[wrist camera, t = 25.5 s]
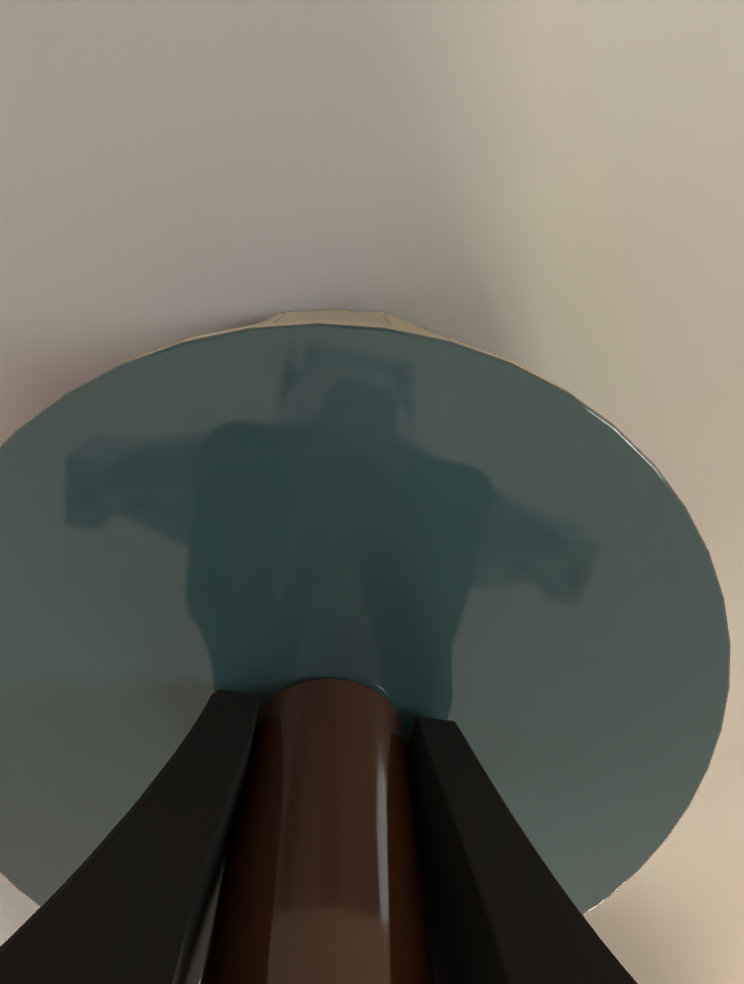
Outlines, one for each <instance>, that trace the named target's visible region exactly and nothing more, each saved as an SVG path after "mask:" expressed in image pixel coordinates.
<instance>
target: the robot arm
mask: <svg viewBox="0 0 744 984" xmlns="http://www.w3.org/2000/svg"><path fill="white" fill-rule="evenodd" d="M260 698H261V695H259V694H251V693H244V692H237V691H229V690H222V689H220V690H218V691H216V692H215V693H213V694H211V696H210V698H209V700H208V702H207V704H206V706H205V708H204V709H203V711H202V713H201V714H200V716H199V717H198V719H197V721H196V722H195V724H194V725H193V727H192V728H191V730H190V731H189V733H188V734H187V736H186V737H185V739H184V740H183V741H182V743H181V744H180V746H179V747H178V748H177V750H176V751H175V753H174V754H173V755H172V757H171V758H170V759H169V761H168V762H167V763H166V765H165V766H164V767H163V768H162V770H161V771H160V772H159V774H158V775H157V776H156V777H155V779H154V780H153V781H152V782H151V784H150V785H149V786H148V788H147V789H146V790H145V791H144V793H143V794H142V795H141V797H140V798H139V799H138V800H137V801H136V803H135V804H134V805H133V806H132V808H131V809H130V810H129V811H128V812H127V813H126V815H125V816H124V817H123V818H122V819H121V820H120V821H119V823H118V824H117V825H116V826H115V827H114V828H113V829H112V831H111V832H110V833H109V834H108V835H107V836H106V837H105V839H104V840H103V841H102V842H101V843H100V844H99V845H98V847H97V848H96V849H95V850H94V851H93V852H92V853H91V855H90V856H89V857H88V858H87V859H86V860H85V861H84V862H83V863H82V864H81V866H80V867H79V868H78V869H77V870H76V871H75V872H74V873H73V874H72V875H71V876H70V877H69V878H68V879H67V880H66V882H65V883H64V884H63V885H62V886H61V887H60V888H59V889H58V890H57V891H56V892H55V893H54V894H53V895H52V896H51V897H50V898H49V899H48V900H47V901H46V902H45V903H44V904H43V905H42V906H41V907H40V908H39V909H38V910H37V911H36V912H35V913H34V914H33V915H32V916H31V917H30V918H29V919H28V920H27V921H26V922H25V923H24V924H23V925H22V926H21V927H20V928H19V929H18V930H17V931H16V932H15V933H14V934H13V935H12V936H11V937H10V938H9V939H8V940H7V941H6V942H5V943H4V944H3V945H2V946H1V947H0V984H200V981H201V980H200V977H201V974H202V970H203V966H204V962H205V957H206V952H207V947H208V942H209V937H210V932H211V928H212V923H213V918H214V913H215V908H216V903H217V898H218V894H219V889H220V884H221V879H222V874H223V869H224V864H225V859H226V855H227V850H228V845H229V840H230V835H231V830H232V826H233V823H234V819H235V815H236V811H237V807H238V803H239V800H240V796H241V793H242V789H243V785H244V782H245V778H246V773H247V768H248V763H249V758H250V753H251V748H252V743H253V738H254V733H255V728H256V722H257V716H258V710H259V704H260ZM407 749H408V758H409V767H410V775H411V784H412V792H413V801H414V809H415V818H416V827H417V835H418V844H419V852H420V861H421V870H422V878H423V887H424V895H425V904H426V913H427V921H428V930H429V938H430V947H431V955H432V964H433V973H434V981H435V984H637V983H636V982H635V980H634V979H633V978H632V977H631V976H630V974H629V973H628V972H627V971H626V970H625V968H624V967H623V966H622V965H621V964H620V962H619V961H618V960H617V959H616V958H615V956H614V955H613V954H612V953H611V952H610V950H609V949H608V948H607V947H606V945H605V944H604V943H603V941H602V940H601V939H600V938H599V936H598V935H597V934H596V932H595V931H594V930H593V929H592V927H591V926H590V925H589V923H588V922H587V921H586V919H585V918H584V917H583V915H582V914H581V913H580V911H579V910H578V909H577V907H576V906H575V904H574V903H573V902H572V900H571V899H570V898H569V896H568V895H567V893H566V892H565V891H564V889H563V888H562V887H561V885H560V884H559V883H558V881H557V880H556V878H555V877H554V875H553V874H552V873H551V871H550V870H549V868H548V867H547V865H546V864H545V863H544V861H543V860H542V858H541V857H540V855H539V854H538V852H537V851H536V849H535V848H534V846H533V845H532V843H531V842H530V840H529V839H528V837H527V836H526V834H525V833H524V831H523V830H522V828H521V827H520V825H519V824H518V822H517V821H516V819H515V818H514V816H513V815H512V813H511V812H510V810H509V808H508V807H507V805H506V804H505V802H504V801H503V799H502V797H501V796H500V794H499V793H498V791H497V789H496V788H495V786H494V784H493V783H492V781H491V780H490V778H489V776H488V775H487V773H486V771H485V770H484V768H483V766H482V765H481V763H480V762H479V760H478V758H477V757H476V755H475V753H474V752H473V750H472V748H471V746H470V745H469V743H468V741H467V740H466V738H465V736H464V735H463V733H462V732H461V730H460V728H459V727H458V725H457V724H456V722H455V721H449V720H442V719H434V718H427V717H420V716H416V718H415V722H414V725H413V729H412V733H411V736H410V740H409V743H408V747H407Z"/></svg>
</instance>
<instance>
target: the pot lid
mask: <svg viewBox="0 0 744 984" xmlns="http://www.w3.org/2000/svg"><path fill="white" fill-rule="evenodd" d="M729 682H730V638H729V631H728V624H727V617H726V611H725V604H724V597H723V594H722V591H721V588H720V585H719V581H718V578H717V575H716V572H715V569H714V566H713V563H712V560H711V556H710V553H709V551H708V549H707V547H706V545H705V543H704V541H703V539H702V537H701V535H700V533H699V531H698V529H697V527H696V525H695V523H694V521H693V520H692V518H691V516H690V514H689V512H688V510H687V508H686V506H685V505H684V504H683V502H682V501H681V500H680V498H679V497H678V495H677V494H676V493H675V491H674V490H673V489H672V487H671V486H670V485H669V483H668V482H667V481H666V479H665V478H664V476H663V475H662V474H661V472H660V471H659V470H658V468H657V467H656V466H655V464H654V463H653V462H652V461H650V460H649V459H648V458H647V457H646V456H645V455H644V454H643V453H642V452H641V451H640V450H639V449H638V448H637V447H636V446H635V445H634V444H633V443H632V442H631V441H630V440H629V439H628V438H627V437H626V436H625V435H624V434H623V433H622V432H621V431H620V430H619V429H618V428H617V427H616V426H615V425H613V424H612V423H611V422H609V421H608V420H607V419H605V418H604V417H602V416H601V415H600V414H598V413H597V412H595V411H594V410H593V409H591V408H590V407H589V406H587V405H586V404H584V403H583V402H582V401H580V400H579V399H578V398H576V397H575V396H573V395H572V394H571V393H569V392H568V391H566V390H565V389H563V388H562V387H560V386H558V385H556V384H555V383H553V382H551V381H549V380H547V379H545V378H543V377H541V376H539V375H537V374H535V373H533V372H532V371H530V370H528V369H526V368H524V367H522V366H520V365H518V364H516V363H514V362H512V361H510V360H509V359H507V358H504V357H502V356H499V355H496V354H493V353H490V352H487V351H485V350H482V349H479V348H476V347H473V346H471V345H468V344H465V343H462V342H459V341H456V340H454V339H451V338H448V337H444V336H439V335H434V334H429V333H424V332H420V331H415V330H410V329H405V328H400V327H395V326H390V325H385V324H373V323H359V322H344V321H329V320H310V321H295V322H280V323H266V324H253V325H248V326H243V327H239V328H234V329H229V330H224V331H219V332H215V333H210V334H205V335H200V336H195V337H191V338H188V339H185V340H182V341H179V342H177V343H174V344H171V345H168V346H166V347H163V348H160V349H157V350H154V351H152V352H149V353H146V354H143V355H140V356H138V357H135V358H132V359H130V360H128V361H126V362H124V363H121V364H120V365H118V366H116V367H114V368H112V369H110V370H108V371H106V372H104V373H103V374H101V375H99V376H97V377H95V378H93V379H91V380H89V381H87V382H86V383H84V384H82V385H80V386H78V387H76V388H74V389H72V390H71V391H69V392H67V393H65V394H64V395H62V396H61V397H60V398H58V399H57V400H56V401H54V402H53V403H52V404H50V405H49V406H48V407H46V408H45V409H44V410H42V411H41V412H39V413H38V414H37V415H35V416H34V417H33V418H31V419H30V420H29V421H27V422H26V423H25V424H23V425H22V426H21V427H19V428H18V429H17V430H16V431H15V432H14V433H13V434H12V435H11V436H10V437H9V438H8V439H7V440H6V441H5V442H4V443H3V444H2V445H1V446H0V872H1V873H2V874H3V875H4V876H5V877H6V878H7V879H8V880H9V881H10V882H11V883H12V884H13V885H14V886H15V887H16V888H17V889H18V890H19V891H21V892H22V893H23V894H25V895H26V896H27V897H29V898H30V899H31V900H32V901H34V902H35V903H36V904H38V905H39V906H40V907H41V906H42V905H43V904H44V903H45V902H46V901H47V900H48V899H49V898H50V897H51V896H52V895H53V894H54V893H55V892H56V891H57V890H58V889H59V888H60V887H61V886H62V885H63V884H64V883H65V882H66V880H67V879H68V878H69V877H70V876H71V875H72V874H73V873H74V872H75V871H76V870H77V869H78V868H79V867H80V866H81V864H82V863H83V862H84V861H85V860H86V859H87V858H88V857H89V856H90V855H91V853H92V852H93V851H94V850H95V849H96V848H97V847H98V845H99V844H100V843H101V842H102V841H103V840H104V839H105V837H106V836H107V835H108V834H109V833H110V832H111V831H112V829H113V828H114V827H115V826H116V825H117V824H118V823H119V821H120V820H121V819H122V818H123V817H124V816H125V815H126V813H127V812H128V811H129V810H130V809H131V808H132V806H133V805H134V804H135V803H136V801H137V800H138V799H139V798H140V797H141V795H142V794H143V793H144V791H145V790H146V789H147V788H148V786H149V785H150V784H151V782H152V781H153V780H154V779H155V777H156V776H157V775H158V774H159V772H160V771H161V770H162V768H163V767H164V766H165V765H166V763H167V762H168V761H169V759H170V758H171V757H172V755H173V754H174V753H175V751H176V750H177V748H178V747H179V746H180V744H181V743H182V741H183V740H184V739H185V737H186V736H187V734H188V733H189V731H190V730H191V728H192V727H193V725H194V724H195V722H196V721H197V719H198V717H199V716H200V714H201V713H202V711H203V709H204V708H205V706H206V704H207V702H208V700H209V698H210V696H211V694H213V693H215V692H216V691H218V690H220V689H222V690H229V691H237V692H244V693H251V694H259V695H261V698H260V704H259V710H258V716H257V722H256V728H255V733H254V738H253V743H252V748H251V753H250V758H249V763H248V768H247V773H246V778H245V782H244V785H243V789H242V793H241V796H240V800H239V803H238V807H237V811H236V815H235V819H234V823H233V826H232V830H231V835H230V840H229V845H228V850H227V855H226V859H225V864H224V869H223V874H222V879H221V884H220V889H219V894H218V898H217V903H216V908H215V913H214V918H213V923H212V928H211V932H210V937H209V942H208V947H207V952H206V957H205V962H204V966H203V970H202V974H201V977H200V980H201V981H200V984H435V981H434V973H433V964H432V955H431V947H430V938H429V930H428V921H427V913H426V904H425V895H424V887H423V878H422V870H421V861H420V852H419V844H418V835H417V827H416V818H415V809H414V801H413V792H412V784H411V775H410V767H409V758H408V749H407V747H408V743H409V740H410V736H411V733H412V729H413V725H414V722H415V718H416V716H420V717H427V718H434V719H442V720H449V721H455V722H456V724H457V725H458V727H459V728H460V730H461V732H462V733H463V735H464V736H465V738H466V740H467V741H468V743H469V745H470V746H471V748H472V750H473V752H474V753H475V755H476V757H477V758H478V760H479V762H480V763H481V765H482V766H483V768H484V770H485V771H486V773H487V775H488V776H489V778H490V780H491V781H492V783H493V784H494V786H495V788H496V789H497V791H498V793H499V794H500V796H501V797H502V799H503V801H504V802H505V804H506V805H507V807H508V808H509V810H510V812H511V813H512V815H513V816H514V818H515V819H516V821H517V822H518V824H519V825H520V827H521V828H522V830H523V831H524V833H525V834H526V836H527V837H528V839H529V840H530V842H531V843H532V845H533V846H534V848H535V849H536V851H537V852H538V854H539V855H540V857H541V858H542V860H543V861H544V863H545V864H546V865H547V867H548V868H549V870H550V871H551V873H552V874H553V875H554V877H555V878H556V880H557V881H558V883H559V884H560V885H561V887H562V888H563V889H564V891H565V892H566V893H567V895H568V896H569V898H570V899H571V900H572V902H573V903H574V904H575V906H576V907H577V909H578V910H579V911H580V913H581V914H582V915H583V916H584V915H585V914H587V913H588V912H589V911H591V910H592V909H594V908H595V907H596V906H598V905H599V904H601V903H602V902H603V901H605V900H606V899H607V898H609V897H610V896H611V895H612V894H613V893H614V892H615V891H617V890H618V889H619V888H620V887H621V886H622V885H623V884H624V883H625V882H627V881H628V880H629V879H630V878H631V877H632V876H633V875H634V874H635V873H637V872H638V871H639V870H640V869H641V868H642V866H643V865H644V864H645V863H646V862H647V861H648V860H649V859H650V857H651V856H652V855H653V854H654V853H655V852H656V851H657V849H658V848H659V847H660V846H661V845H662V844H663V843H664V842H665V840H666V839H667V838H668V836H669V835H670V833H671V832H672V831H673V829H674V828H675V826H676V825H677V823H678V822H679V820H680V819H681V817H682V816H683V814H684V813H685V812H686V810H687V809H688V807H689V806H690V804H691V802H692V800H693V798H694V796H695V794H696V792H697V790H698V788H699V786H700V784H701V782H702V780H703V778H704V776H705V774H706V772H707V770H708V768H709V765H710V762H711V759H712V757H713V754H714V751H715V748H716V745H717V742H718V739H719V736H720V733H721V730H722V726H723V720H724V714H725V709H726V703H727V698H728V692H729Z"/></svg>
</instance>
